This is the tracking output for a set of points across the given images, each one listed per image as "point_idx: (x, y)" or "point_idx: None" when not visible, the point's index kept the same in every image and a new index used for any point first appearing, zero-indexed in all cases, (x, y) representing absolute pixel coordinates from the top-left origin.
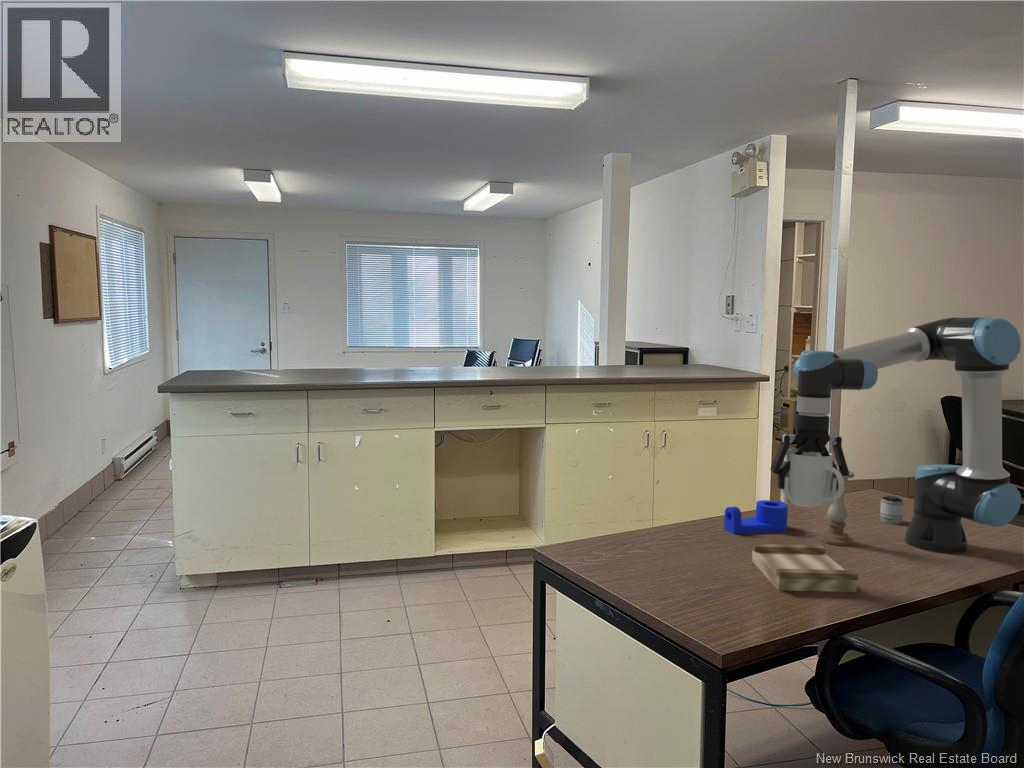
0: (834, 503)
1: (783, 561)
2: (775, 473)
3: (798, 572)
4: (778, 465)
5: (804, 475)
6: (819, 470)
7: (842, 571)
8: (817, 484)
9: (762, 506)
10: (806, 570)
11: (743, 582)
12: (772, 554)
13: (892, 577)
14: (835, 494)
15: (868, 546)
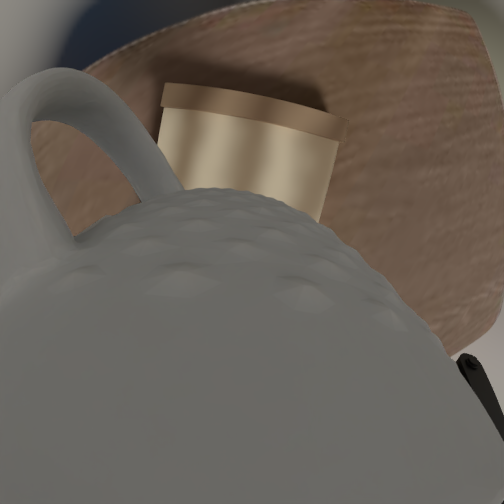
0: (106, 216)
1: None
2: (465, 354)
3: (307, 108)
4: (483, 394)
5: (374, 270)
6: (203, 232)
7: (192, 99)
8: (229, 192)
9: None
10: (280, 115)
11: (374, 177)
12: None
13: (64, 170)
14: (82, 231)
15: None
